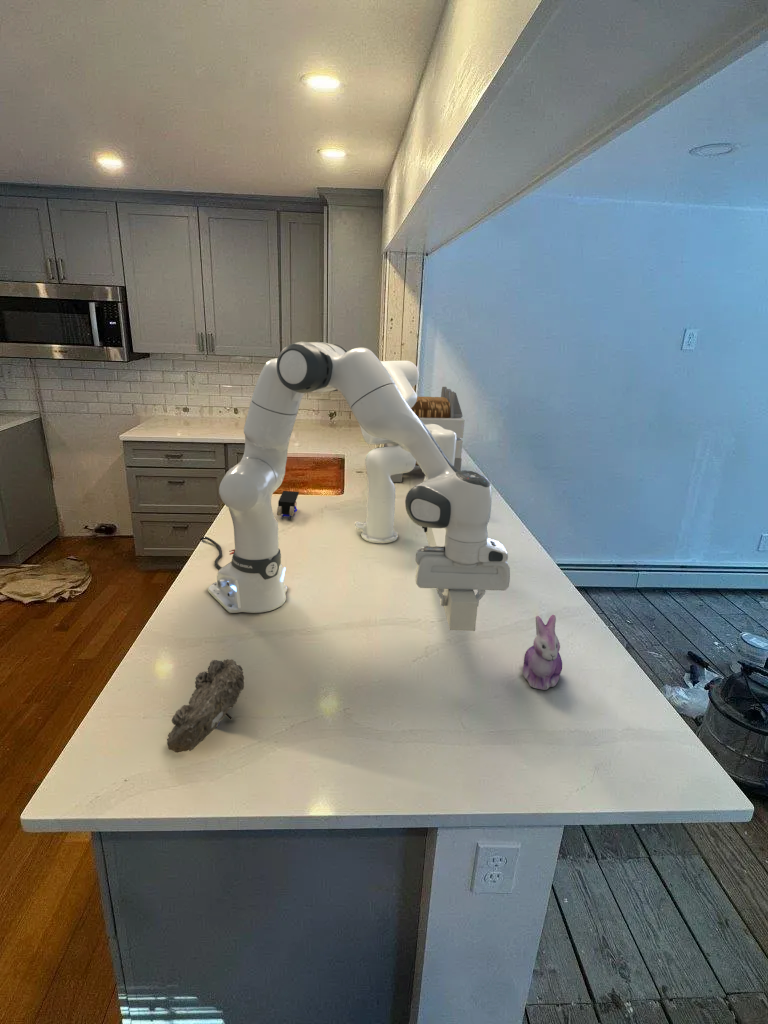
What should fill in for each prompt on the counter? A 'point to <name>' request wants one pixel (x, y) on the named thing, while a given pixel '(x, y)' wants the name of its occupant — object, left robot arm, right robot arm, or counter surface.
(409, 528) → the counter surface
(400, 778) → the counter surface
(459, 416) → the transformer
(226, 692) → the fossil
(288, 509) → the figurine character
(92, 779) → the counter surface
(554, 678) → the figurine
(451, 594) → the beam
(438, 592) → the left robot arm
